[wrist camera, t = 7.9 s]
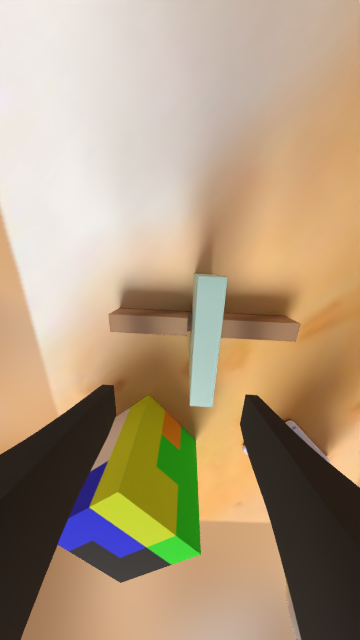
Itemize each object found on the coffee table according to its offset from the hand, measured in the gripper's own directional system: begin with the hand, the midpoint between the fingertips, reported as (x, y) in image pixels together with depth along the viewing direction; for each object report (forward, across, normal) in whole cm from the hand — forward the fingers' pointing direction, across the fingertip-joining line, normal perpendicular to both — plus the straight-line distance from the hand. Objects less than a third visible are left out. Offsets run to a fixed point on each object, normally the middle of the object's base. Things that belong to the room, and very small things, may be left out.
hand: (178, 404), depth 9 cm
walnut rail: (+10, -2, -2) cm, 11 cm away
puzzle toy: (+11, +4, +16) cm, 20 cm away
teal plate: (+10, -2, -2) cm, 11 cm away
